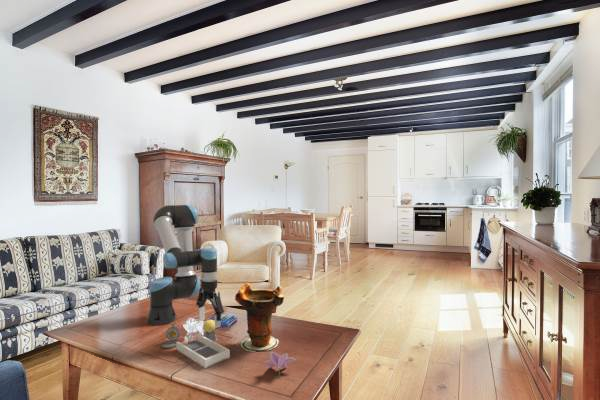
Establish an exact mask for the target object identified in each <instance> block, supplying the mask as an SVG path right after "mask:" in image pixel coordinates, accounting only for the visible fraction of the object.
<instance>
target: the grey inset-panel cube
mask: <svg viewBox="0 0 600 400" xmlns="http://www.w3.org/2000/svg"><path fill="white" fill-rule="evenodd" d="M203 336H204V337H206V338H208V339H210V340H212V341H216V330H214V331H213V332H211V333H207V332H205V331H204V330H203Z"/></svg>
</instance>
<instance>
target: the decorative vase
mask: <svg viewBox="0 0 600 400" xmlns="http://www.w3.org/2000/svg"><path fill="white" fill-rule="evenodd" d="M234 298H235V299H234V300H235V301H236V303H238V304H239V306H241V307H243V309H244V310H245V311H246V320H247V321H246V322H247V323H246V324H247V330H246V334H248V337H247V338H244V340H243V341H242V342H241V344H240V346H241V348H243V350H245V351H247V352H251V353H252V352H253V353H255V352H257V351H260V352H261V351H262V352H264V351H270V350H272V349H275V348H276V347H278V344H279V342H280V340H279V339H278V338H275V337H274V336H272V333H273V330H272V316H273V312H274V310H275V309H276V308H277V307H279V306H281V305H282V304H283V303H284V300H285V296H284V294H283V292H282V286H281V285H277V287H276V288H275V289H267V288H252V287H251V285H250V283H248V282H246V283H243V284H242V286H241V288H240V289H238V292H236V293H235V296H234Z"/></svg>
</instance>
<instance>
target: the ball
mask: <svg viewBox="0 0 600 400" xmlns="http://www.w3.org/2000/svg"><path fill="white" fill-rule="evenodd" d="M215 329H216V328H215V320H212V319H207V320H205V322H204V323H203V325H202V330H203V332H204V331H205V332H207V333H211V332H213V331H216V330H215Z"/></svg>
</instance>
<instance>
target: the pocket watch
mask: <svg viewBox="0 0 600 400" xmlns="http://www.w3.org/2000/svg"><path fill="white" fill-rule="evenodd" d="M176 324H177V323H176V322H174V323H173V322H170V325H171V326H170V327H169V328H167V329H166V332H165V336H166V338H167V339H168V340H167V341H164V342H163V343H162V344H161V347H162V348H164V349H172V348H174V347H176V342H177V340H178V339H179V338H180V336H181V332H180V329H179V328H178V327H177V326H175V325H176Z"/></svg>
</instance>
